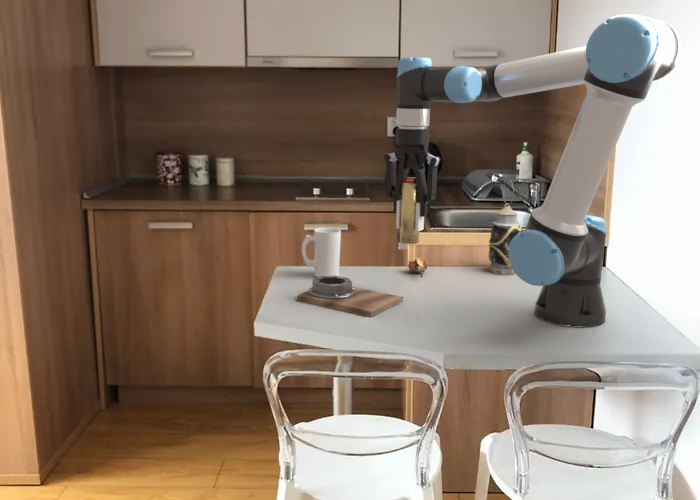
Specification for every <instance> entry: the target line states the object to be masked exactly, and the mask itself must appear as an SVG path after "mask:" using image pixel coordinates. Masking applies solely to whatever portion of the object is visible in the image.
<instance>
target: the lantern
mask: <svg viewBox="0 0 700 500" xmlns="http://www.w3.org/2000/svg"><path fill="white" fill-rule="evenodd" d="M507 182H510V183H511V185H512V191H513V192H512V199H511V201H510V203H507V202H506V198H505V194H504V193H505V185H506V184H507ZM502 198H503V202H504V203H505V204H504V207H502V208H501V209H500V210H498V211H496V218H495V220H494V221H492V222H491V223H492V224H493V226H492V227H491V230H490V238H489V240H488V243H489V244H488V246H489V249H488V259H489V261H490V264H489V265H490V266H489V271H490V272H491V273H493V274H496V275H501V276H504V275H507V276H508V274H510V275H514V274H516V273H515V272H514V270H513V268H512V265H511V264H510V261H509V246H510V243H511V241H512V239H513V238H514V237H515V236H516V235H517V234H518V233H519V232H521V231H522V225H521V224H520V222H518V221H517V215H518V212H516V211H514V210H513V209H512V207H511V205H512V203H513V201H514V198H515V189H514V184H513V182H512V180H511V179H507V180H505V182H504V183H503V188H502ZM513 273H514V274H513Z"/></svg>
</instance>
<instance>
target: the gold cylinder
mask: <svg viewBox="0 0 700 500" xmlns="http://www.w3.org/2000/svg"><path fill="white" fill-rule="evenodd" d="M418 201H419V196H418V190H417V184H416V178H415V176H414V177H412V176H411V177H410V176H407V177H406V178H405V181H404V182H402V185H401V224H400V229H399V231H400V232H399V243H401V244H406V245H410V244H411V245H415V244H419V243H420V231H415V225H416V203H418Z"/></svg>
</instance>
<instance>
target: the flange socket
mask: <svg viewBox="0 0 700 500" xmlns="http://www.w3.org/2000/svg"><path fill="white" fill-rule="evenodd" d="M311 283H312V285H311V286H310V287H309V288H308V290H307V291H308V292H309V294H310V295H312V296H314V297H318V298H324V299H343V298H348V297H352V296H354V295H355V292H356V291H355V289H354V288H352V287H353V281H352V280H351V279H350V278H349V277H345V276H342V275H341V276H340V275H339V276H320V277H315V278H313V279H312V282H311Z"/></svg>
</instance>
